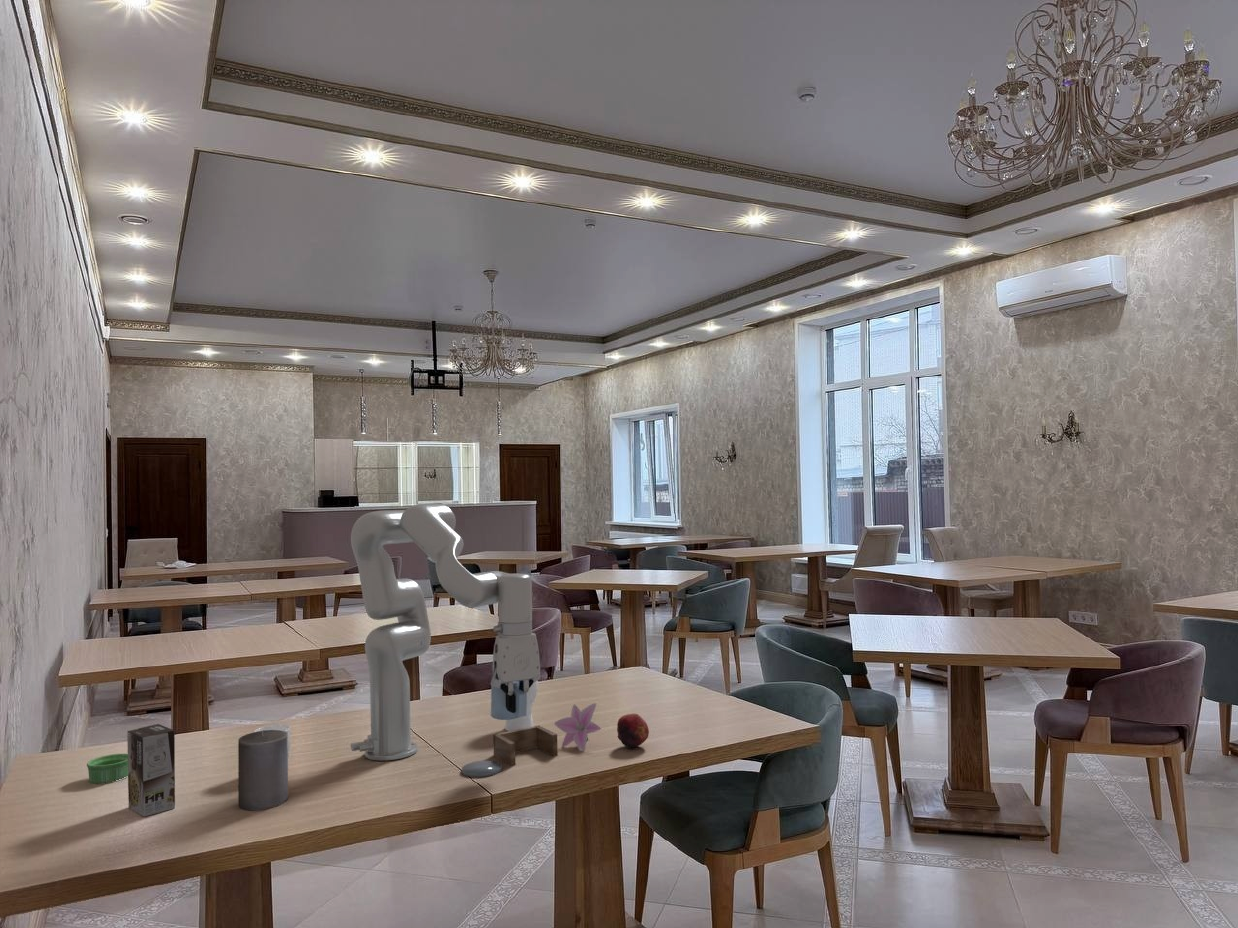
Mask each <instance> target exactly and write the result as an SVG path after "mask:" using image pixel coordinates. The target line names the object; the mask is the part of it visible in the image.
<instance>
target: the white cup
mask: <svg viewBox="0 0 1238 928" xmlns="http://www.w3.org/2000/svg"><path fill="white" fill-rule="evenodd" d="M262 730H263V731H264V730H280V731H284V732H287V734H288V735H287V747H288V752H287V753H288V760H289V759H290V747H291V744H290V743H291V726H290V725H287V724H272V725H266V726H262V727H259V728H257V729H254V731H253V732H258V731H262Z"/></svg>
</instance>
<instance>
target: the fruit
mask: <svg viewBox="0 0 1238 928" xmlns="http://www.w3.org/2000/svg"><path fill="white" fill-rule="evenodd" d="M616 726H617V727H616V728H617V729H616V731H617V738H618V740H619V741H620V742H621V744H622V745H623V746H625V747H626V748H629V749H631V748H632V749H634V748H637V747H639V746H641V745H642V744H643V743H644V742H646V740H647V739H648V738H649V733H650V730H649V725H648V724H647V722H646V721H645V719H644V718H643V717H642V716H641V715H639V714H638V713H627V714H624V715H622V716H620V717H619V718H618V721H617V725H616Z"/></svg>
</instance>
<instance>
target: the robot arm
mask: <svg viewBox="0 0 1238 928" xmlns="http://www.w3.org/2000/svg"><path fill="white" fill-rule="evenodd" d="M456 522H457V520H456V515H455V513H454V512H453V511H452V509H451V508H450V507H448V506H447V505H445V504H441V503H430V504H429V503H428V504H427V503H426V504H423V503H422V504H414V505H412V506H410V507H408V508H407V509H394V510H393V509H392V510H389V509H388V510H376V511H371V512H367V513H365V514H362V515H361V516H360V517H359V518H358V519H357V520H356V521H355V523H354V524H353V526H352V528H351V533H350V543H351V545H350V546H351V549H352V552H353V555H354V559H355V561H356V564H357V568H358V569H357V570H358V575H359V583H360V587H361V588H360V589H361V593H362V599H363V605H364V608H365V609H364V610H365V613H366V614H367V616H368V617H369V618H370V619H372V620H377V621H382V620H389V619H395V618H397V622H394V623H393V622H392V623H388V624H384V625H381V626H380V625H379V626H378V627H376V628H374V629H373V630H371V631H370V632H369V633H368V635H367V636H366V639H365V641H364V642H365V643H364V651H365V656H366V661H367V666H368V672H369V673H368V674H369V691H370V692H369V694H370V695H369V699H370V700H369V702H370V735H367V739H364V740H363V741H355V742H351V743H350V750H351V751H352V752H354V751H355V752H356V751H359V753H361V752H364V757H365V758H367V759H368V760H372V761H382V762H383V761H395V760H399V759H404V758H407V757H410V756H412V755H414V754H416V753H417V752H418V745H417V744H416V743H415V742H413V741H412V738H411V734H412V733H411V731H412V730H411V729H412V728H411V687H410V676H409V674H408V670H407V669H406V666H405V665H404V663H403V661H406V660H410V659H413V658H416V657H419V656H420V657H421V656H422V655H423V654H425V653H426V652H427V651H428V650H429V648H430V646H431V642H432V639H431V635H432V633H431V628H430V627H431V626H430V621H429V615H428V609H427V604H426V599H425V595H424V592H423V589H422V588H421V586H420V584H418V583H417V582H416V581H415V580H413V579H411V578H406V577H405V578H397V577H396V573H395V567H394V563H393V560H392V557H391V556H390V555H389V553H388V552H387V551H386V549H385V548H384V546H385V545H394V544H396V545H397V544H404V543H414V544H415V545H417V547H419V548H420V550H422V551H423V552H424V553H425V554H426V556H427V557H429V558H430V559H431V560H432V561H433V562H434V563H435V571H436V572H435V573H436V575H437V578H438V582H439V584H440V585H441V587H442V588H443V590H445V591H446V592H447V593H448V594H449V595H450V596H451V597H452V598H453V599H454V600H455V601H456V602H457V603H459V604H460V605H462V606H463V607H465V608H469V609H470V608H471V609H473V608H475V609H476V608H479V607H484V606H491V605H494V604H498V621H497V625H495V626H493V632H494V633H497V634H498V635H496V636H495V642H494V644H493V654H492V678H491V680H490V685H492V686H494V687H497V688H500V689H501V690H502V691H503V692H504V693H505V695H506V708H507V711H509V712H511V713H515V712H516V696H515V695H514V694H513V682H516V681H519V690H521V691H523V692H525V693H526V694H527V692H528V691H529V688H530V687H531V685H532V684H533V683H534V682H536V681H538V682H539V680H540V679H541V661H540V660H541V659H540V650H539V644H538V640H537V634H536V633H534V632H533V600H532V599H533V592H532V591H533V590H532V589H533V588H532V587H533V584H532V578H531V576H530V575H529V574H526V573H509V572H505V571H504V572H503V571H499V570H493V571H483V572H477V573H471V572H470V571H469V570H468V569H466V567H464V566H463V564H462V563H461V562H460V561H458V558H459V557H460V555H461V554H462V551H463V549H464V545H465V544H464V540H463V538H462V537H461V535H460V534H458V533H457V532H456V531H455V528H456ZM499 680H501V681H502V682H503V683H501V682H499Z"/></svg>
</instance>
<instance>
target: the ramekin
mask: <svg viewBox="0 0 1238 928" xmlns="http://www.w3.org/2000/svg"><path fill="white" fill-rule="evenodd" d="M86 767H87V770H88V778H89V779H88V780H89V782H90V784H94V783H105V784H107V783H106V782H111V783H113V782H112V781H116V780H119V779H122V778H124V777H126V776H128V753H112V754H106V755H101V756H98V757H95V758H93V759H90V760H89V761H88V762H86ZM126 778H127V777H126ZM122 780H123V779H122ZM119 781H120V780H119ZM116 782H117V781H116Z"/></svg>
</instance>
